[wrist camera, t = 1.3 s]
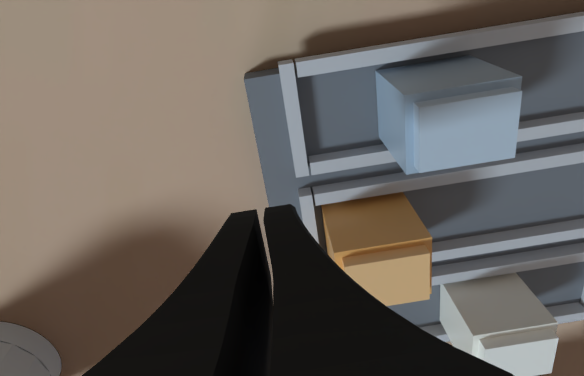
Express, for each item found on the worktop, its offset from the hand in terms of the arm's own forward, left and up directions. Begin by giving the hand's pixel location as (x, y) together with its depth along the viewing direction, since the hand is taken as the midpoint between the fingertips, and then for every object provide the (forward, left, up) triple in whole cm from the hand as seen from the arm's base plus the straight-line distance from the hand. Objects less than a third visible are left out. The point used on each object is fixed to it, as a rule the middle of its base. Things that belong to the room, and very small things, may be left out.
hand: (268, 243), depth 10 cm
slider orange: (-6, -4, -9) cm, 12 cm away
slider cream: (-12, -10, -9) cm, 18 cm away
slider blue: (0, -7, -9) cm, 12 cm away
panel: (-6, -9, -10) cm, 15 cm away
